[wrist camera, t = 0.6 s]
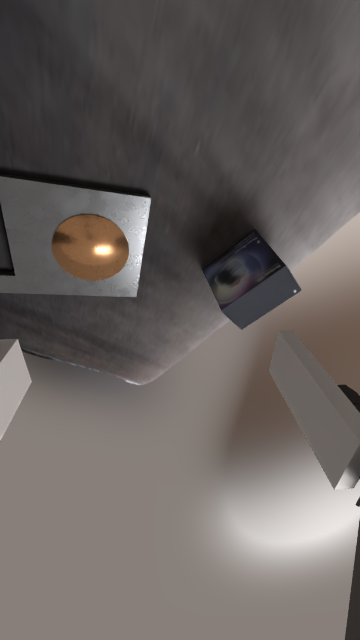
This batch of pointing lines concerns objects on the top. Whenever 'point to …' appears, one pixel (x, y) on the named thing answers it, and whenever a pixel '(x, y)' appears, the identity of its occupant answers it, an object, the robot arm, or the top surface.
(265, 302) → the small box
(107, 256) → the rail plate
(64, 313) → the top surface
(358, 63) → the top surface
